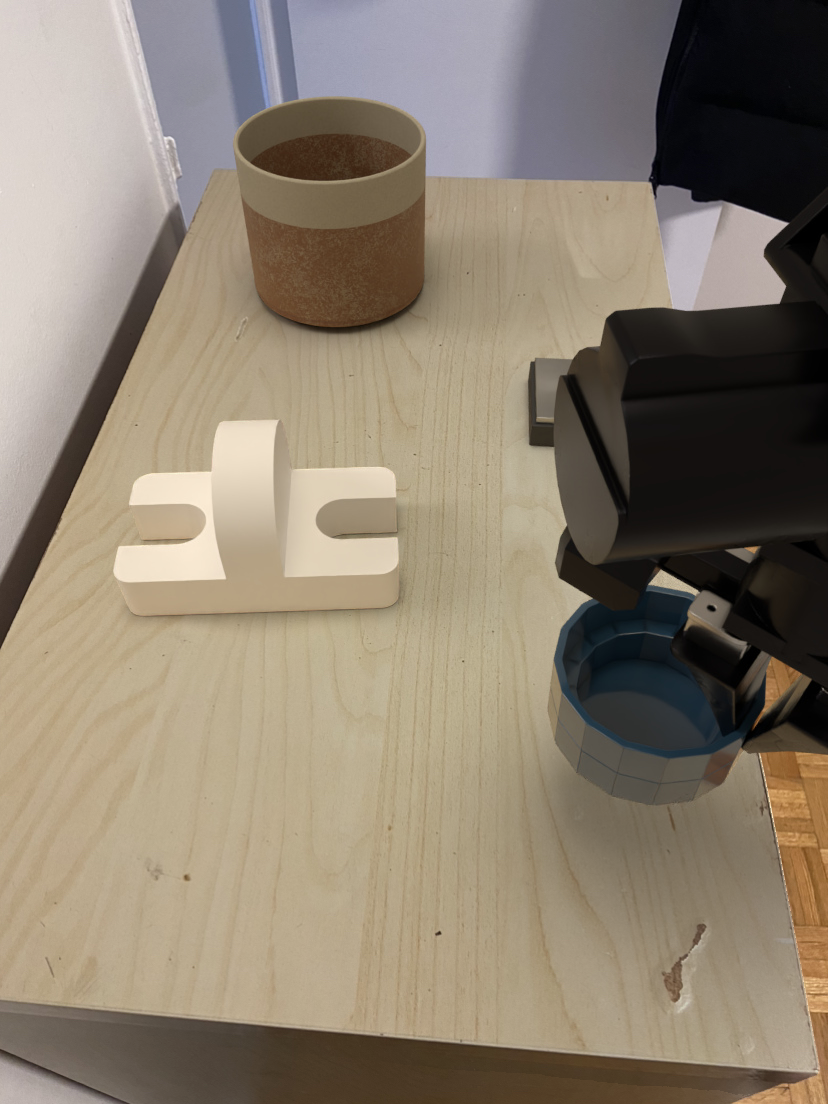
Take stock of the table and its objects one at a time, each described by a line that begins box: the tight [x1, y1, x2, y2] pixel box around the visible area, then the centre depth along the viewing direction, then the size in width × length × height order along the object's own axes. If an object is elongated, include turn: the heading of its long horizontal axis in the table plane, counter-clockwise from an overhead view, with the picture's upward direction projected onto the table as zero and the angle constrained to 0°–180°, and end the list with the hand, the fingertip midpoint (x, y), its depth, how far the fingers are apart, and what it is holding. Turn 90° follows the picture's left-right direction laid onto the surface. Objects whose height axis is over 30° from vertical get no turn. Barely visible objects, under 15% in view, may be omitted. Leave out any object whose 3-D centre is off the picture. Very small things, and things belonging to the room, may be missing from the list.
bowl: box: [547, 584, 768, 807], centre depth 40 cm, size 9×9×5 cm
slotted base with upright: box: [112, 419, 400, 617], centre depth 54 cm, size 10×18×11 cm, turn 92°
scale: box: [527, 357, 573, 447], centre depth 67 cm, size 8×8×3 cm
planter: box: [232, 95, 427, 328], centre depth 74 cm, size 16×16×14 cm
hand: (740, 737), depth 37 cm, fingers closed on bowl
